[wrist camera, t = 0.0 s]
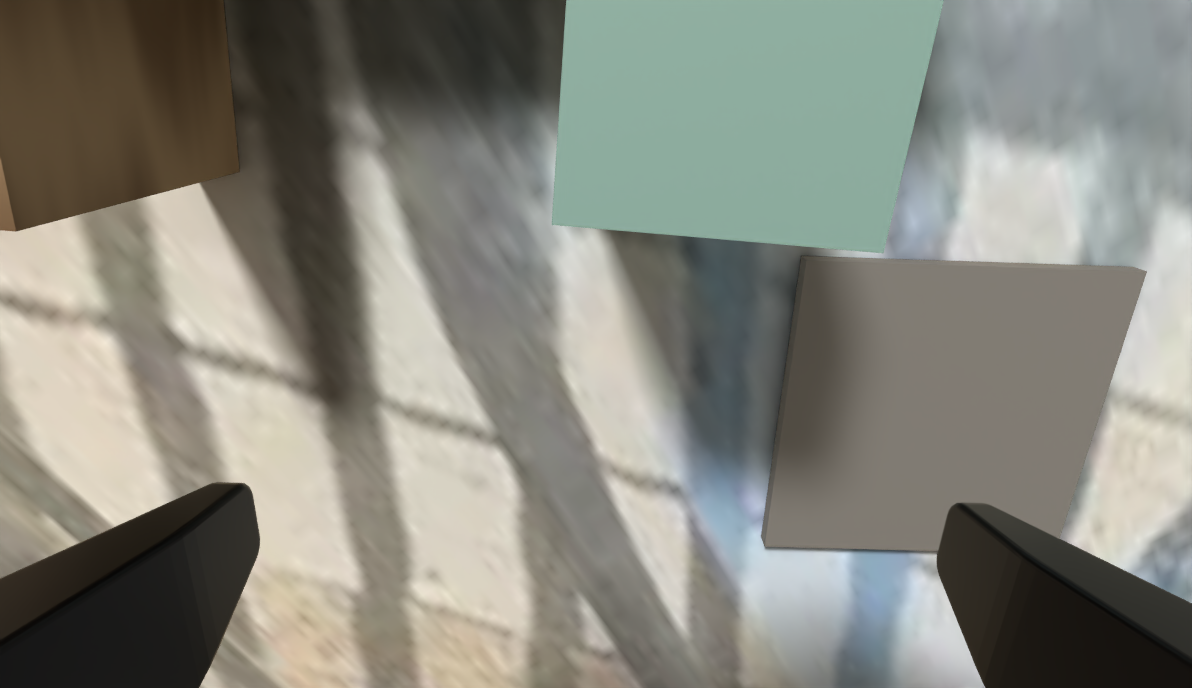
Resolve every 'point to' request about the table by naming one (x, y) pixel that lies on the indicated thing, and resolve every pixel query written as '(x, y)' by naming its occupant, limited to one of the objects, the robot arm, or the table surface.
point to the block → (740, 117)
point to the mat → (939, 395)
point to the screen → (110, 103)
